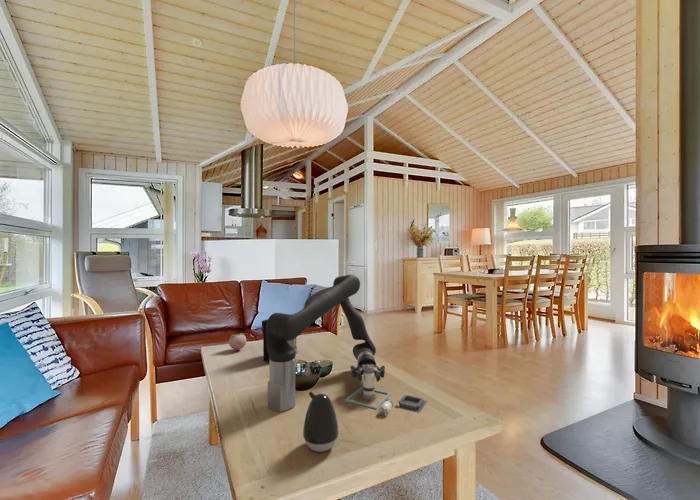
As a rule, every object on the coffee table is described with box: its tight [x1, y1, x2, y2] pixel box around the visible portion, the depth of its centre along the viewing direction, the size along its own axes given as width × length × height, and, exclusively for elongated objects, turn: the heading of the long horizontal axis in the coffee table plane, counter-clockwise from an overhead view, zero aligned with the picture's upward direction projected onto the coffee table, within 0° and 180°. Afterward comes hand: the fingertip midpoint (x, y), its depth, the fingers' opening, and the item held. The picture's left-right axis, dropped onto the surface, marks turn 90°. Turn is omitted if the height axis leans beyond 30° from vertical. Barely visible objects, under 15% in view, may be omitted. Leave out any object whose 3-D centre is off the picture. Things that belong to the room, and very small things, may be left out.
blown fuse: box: [362, 365, 375, 401], centre depth 129 cm, size 4×4×12 cm
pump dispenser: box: [302, 391, 339, 453], centre depth 100 cm, size 10×10×15 cm
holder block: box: [394, 393, 428, 414], centre depth 124 cm, size 10×9×2 cm
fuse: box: [377, 398, 394, 417], centre depth 119 cm, size 8×3×3 cm, turn 159°
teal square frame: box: [344, 385, 392, 410], centre depth 129 cm, size 14×13×2 cm
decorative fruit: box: [228, 332, 247, 351], centre depth 187 cm, size 9×8×10 cm
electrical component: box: [260, 318, 299, 363], centre depth 177 cm, size 18×10×20 cm, turn 148°
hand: (369, 379), depth 126 cm, fingers open, 5 cm apart
